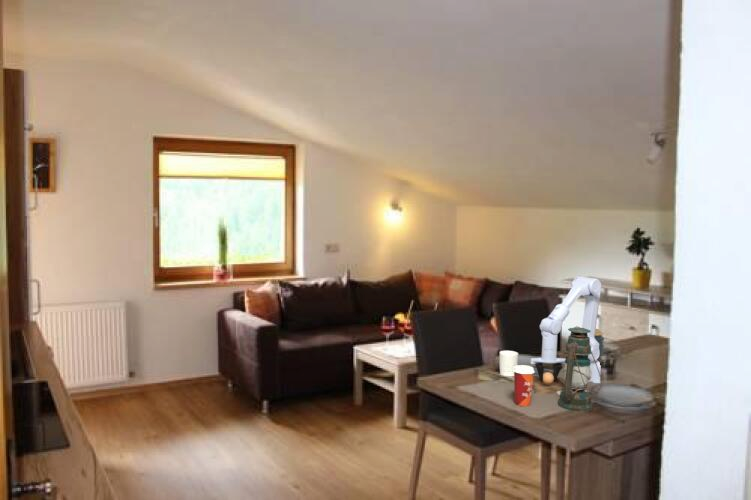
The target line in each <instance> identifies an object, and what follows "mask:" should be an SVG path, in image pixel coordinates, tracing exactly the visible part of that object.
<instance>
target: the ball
mask: <svg viewBox="0 0 751 500" xmlns="http://www.w3.org/2000/svg"><path fill="white" fill-rule="evenodd" d="M553 381H554V376H553V375H552V374H551V373H549V372H546V373H544V374H543V383H545V384H551V383H552V382H553Z"/></svg>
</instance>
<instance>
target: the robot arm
mask: <svg viewBox="0 0 751 500" xmlns="http://www.w3.org/2000/svg"><path fill="white" fill-rule="evenodd" d="M601 293H602V283H601V281H600V280H599V279H598V278H594V277H593V278H592V277H588V276H582V275H577V276H575V277H574V279H573V280H572V282H571V288H570V290H569V291H568V293H567V294H566V296H565V298H564V299H563V301H562V303H558V304H557V305H556V306H554V309H553V310H552V311H551V312H550V313H549V315H548V316H547V317H545V318H543V319H542V320H541V322H540V324H539V330H540V331H541V336H542V338H541V339H542V340H541V341H542V342H541V343H542V344H541V356H540V357H531V358H529V359H530V360H529V364H531V365H535V368H537V370H538V374H539V379H540V382H543V371H544V369H545V366H544V365H552V371H553V376H554V382H556V380H557V377H558V376H559V374H560V372H561V370H562V369H563V365H565V362H564V361H565V360H566V358H561V357H560V358H559V357H557V353H558V334H559V333H560V332H561V330H562V326H563V322H564V321H565V319H566V318H567V317H568V316H569V314H570V308H571V307H572V306H573V305H574V304H575V303H576V301H578V299H579V298H581V296H583V298H584V300H585V303H584V312H583V318H582V325H581V328H585V329H588V330H590V331H591V332H590V333H587V335H588V337H589V338H590V345H591V351H592V354H593V356H594V359H595V361H596V364H597V366H596V364H595V361H594V359H593V356H592V354H590V355H588V359H590V363H591V365H590V370H591V372H592V376H591V379H590V381H588V382H592V383H593V384H601V379H600V376H601V375H602V374H601V372H602V371H601V370H602V369H601V368H602V364H601V365H600V362H599V361H598V360H597V359H598V358H599V355H600V351H599V343H598V342H597V341H596V339H595V338H594V337H595V329H597V328H596V327H597V321H598V314H599V306H600V301H601V300H600V299H601ZM597 367H598V369H597ZM598 370H599V372H600V375H599V372H598ZM590 375H591V373H590Z"/></svg>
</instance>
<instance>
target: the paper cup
mask: <svg viewBox="0 0 751 500" xmlns="http://www.w3.org/2000/svg"><path fill="white" fill-rule="evenodd" d="M533 368H534V367H533V366H531V365H525V364H524V365H523V364H521V365H519V364H517V366H515V368H514V370H513V371H514V376H513V377H514V379H513V382H514V405H516V406H518V405H520V406H519V407H522V406H527V407H530V406H531V400H532V392H533V391H532V390H533V389H532V383H533V374H534V372H535V371H534V369H533ZM529 405H530V406H529Z"/></svg>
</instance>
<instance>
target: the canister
mask: <svg viewBox="0 0 751 500" xmlns="http://www.w3.org/2000/svg"><path fill="white" fill-rule="evenodd" d="M603 334H604V333H603V332H602V331H601V330H600V329H597V328H596V329H595V337H594V338H595V339H596V341H597V342H598V343H599V351H600V355H599V357H600V356H603V357H604V350H605V349H604V347H605V344H604V341H605V337H604V336H603Z"/></svg>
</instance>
